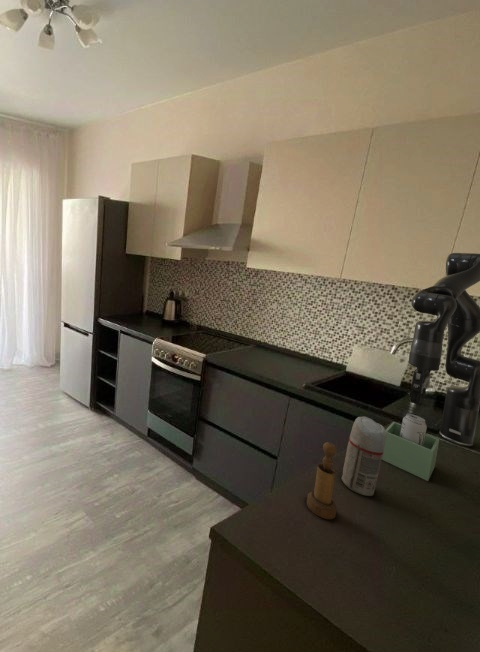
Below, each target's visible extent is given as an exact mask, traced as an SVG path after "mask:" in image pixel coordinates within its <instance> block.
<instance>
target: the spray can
mask: <svg viewBox="0 0 480 652" xmlns="http://www.w3.org/2000/svg"><path fill="white" fill-rule="evenodd" d="M385 430H386V428H385V426H383V425H382V424H381V423H378V422H376V421H375V420H374V419H372V418H370V417H367V416H358V417H356V418H355V420H354V422H353V424H352V427H351V432H350V435H349V438H348V443H347V447H346V451H345V452H346V453H345V459H344V462H343V463H344V464H343V468H342V475H341V479H340V480H341V481H342V482H343V484H344V485H345V486H346V487H347V488H348V489H349V490H351V491H352V492H355V493H356V494H359V495H361V496H367V497H373V496H374V495H375V490H376V486H377V483H378V477H379V474H380V468H381V466H382V461H383V460H382V456H383V452H384V446H385V440H386V431H385Z"/></svg>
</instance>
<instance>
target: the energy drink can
mask: <svg viewBox="0 0 480 652" xmlns="http://www.w3.org/2000/svg"><path fill="white" fill-rule="evenodd" d="M401 425H402V427H401V432H400V437H401V438H403V439H406V440H408V441H411V442H413V443H416V444H418V445H420V446H423V445H424V439H425V434H426V435H427V429H428V426H427V424H426V419H424V418H423V417H421V416H419V415H415V414H412V413H406V415H405V416H404V417H403V418H402V422H401Z"/></svg>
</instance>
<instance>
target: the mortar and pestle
mask: <svg viewBox="0 0 480 652" xmlns="http://www.w3.org/2000/svg"><path fill="white" fill-rule="evenodd" d="M322 450H323V452H324V455H325V456H324V457H323V458H322V463H319V464H317V468H316V474H315V475H316V476H315V483H314V490H313V491H310V492H308V493H307V499H306V506H307V507H308V509H309V511H310V512H312V513H313V514H315V515H316V516H318V517H319V518H322V519H325V520H333V519H335V518H336V515H337V514H336V513H337V505H336V503H335V502H334V500H333V491H334V485H335V478H336V471H335V469H334V468H332V466H333V464H334V461H333V458H334V456H335V455H336V454H337V452H338V449H337V446H336V445H335V444H334V443H332V442H329V441H326V442H324V443H323V445H322Z"/></svg>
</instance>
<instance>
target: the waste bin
mask: <svg viewBox="0 0 480 652" xmlns="http://www.w3.org/2000/svg"><path fill="white" fill-rule="evenodd" d="M401 427H402V424H400V423H398V422H395V421H392V422H391V423H390V424H389V426H388V427H387V428H385V431H386V440H385V446H384V452H383V456H382V460H381V461H383V462H385V463H388V464H390V465H392V466H394V467H396V468H399V469H401V470H403V471H405V472H407V473H409V474H412V475H413V476H416V477H418V478H420V479H422V480H424V481H426V482H429V480H430V478H431V476H432V474H433V471H434V469H435V467H436V462H437V455H438V449H439V443H440V439H439V438H437V437H434V436H431V435H429V434H427V433H426V434H425V439H424V445H423V446H420V445H418V444H416V443H413V442H411V441H408V440H406V439H403V438H401V437H400V432H401Z"/></svg>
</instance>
